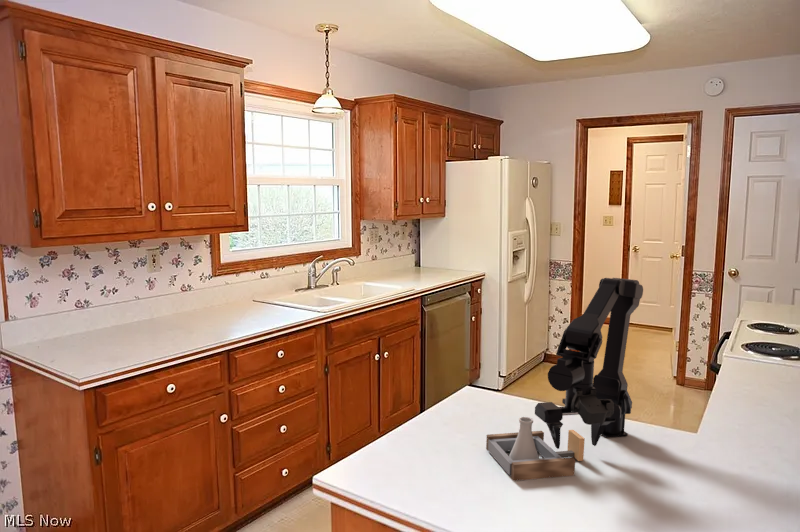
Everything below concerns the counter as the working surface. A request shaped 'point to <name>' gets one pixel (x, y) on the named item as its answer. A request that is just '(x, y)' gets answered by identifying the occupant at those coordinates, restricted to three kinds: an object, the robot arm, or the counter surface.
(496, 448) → the sliding frame
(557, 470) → the lane rails
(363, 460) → the counter surface
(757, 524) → the counter surface
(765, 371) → the counter surface
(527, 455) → the flask
